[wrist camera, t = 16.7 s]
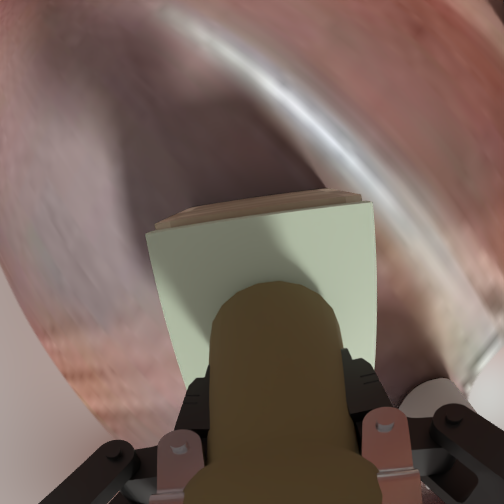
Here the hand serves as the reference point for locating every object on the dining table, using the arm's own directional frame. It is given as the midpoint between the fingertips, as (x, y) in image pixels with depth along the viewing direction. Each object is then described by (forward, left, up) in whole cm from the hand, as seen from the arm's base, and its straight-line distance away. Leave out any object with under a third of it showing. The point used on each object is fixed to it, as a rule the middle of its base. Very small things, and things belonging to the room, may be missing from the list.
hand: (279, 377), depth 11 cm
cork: (0, 0, -3) cm, 3 cm away
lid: (0, 0, -4) cm, 4 cm away
